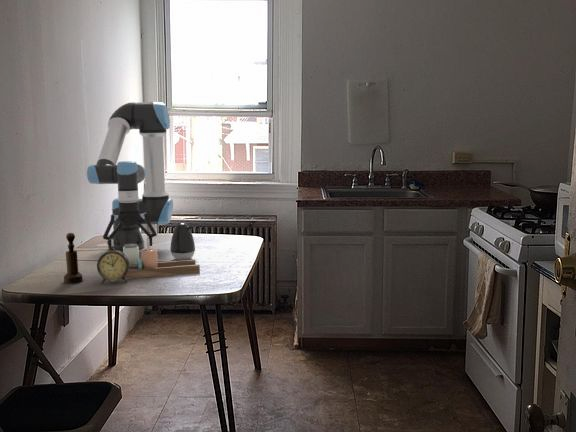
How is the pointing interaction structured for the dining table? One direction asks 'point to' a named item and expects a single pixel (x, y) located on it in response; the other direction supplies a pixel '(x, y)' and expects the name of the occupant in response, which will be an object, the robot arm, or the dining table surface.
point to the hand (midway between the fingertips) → (130, 255)
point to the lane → (164, 269)
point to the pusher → (139, 264)
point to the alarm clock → (113, 265)
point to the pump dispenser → (182, 242)
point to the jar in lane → (149, 258)
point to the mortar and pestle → (72, 262)
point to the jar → (131, 252)
